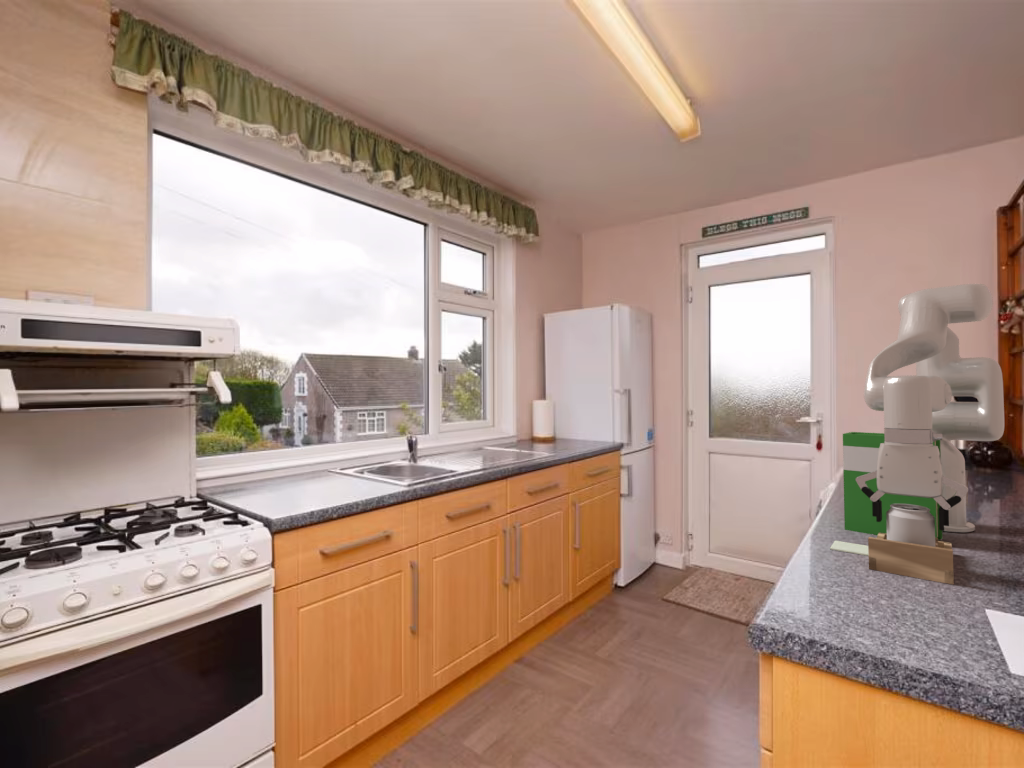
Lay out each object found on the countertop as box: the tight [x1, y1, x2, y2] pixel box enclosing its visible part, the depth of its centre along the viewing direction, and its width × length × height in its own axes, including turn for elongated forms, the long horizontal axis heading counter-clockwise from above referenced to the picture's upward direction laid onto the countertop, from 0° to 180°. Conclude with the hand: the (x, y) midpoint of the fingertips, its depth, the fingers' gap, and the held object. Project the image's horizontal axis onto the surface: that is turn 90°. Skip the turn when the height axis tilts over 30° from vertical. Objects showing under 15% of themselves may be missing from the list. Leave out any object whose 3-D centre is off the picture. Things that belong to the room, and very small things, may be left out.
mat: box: [829, 540, 869, 557], centre depth 109 cm, size 7×7×1 cm
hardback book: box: [842, 431, 944, 540], centre depth 120 cm, size 18×7×24 cm, turn 41°
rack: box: [867, 533, 955, 586], centre depth 101 cm, size 21×12×6 cm, turn 139°
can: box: [886, 504, 935, 547], centre depth 98 cm, size 8×8×12 cm
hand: (909, 524), depth 97 cm, fingers open, 9 cm apart
